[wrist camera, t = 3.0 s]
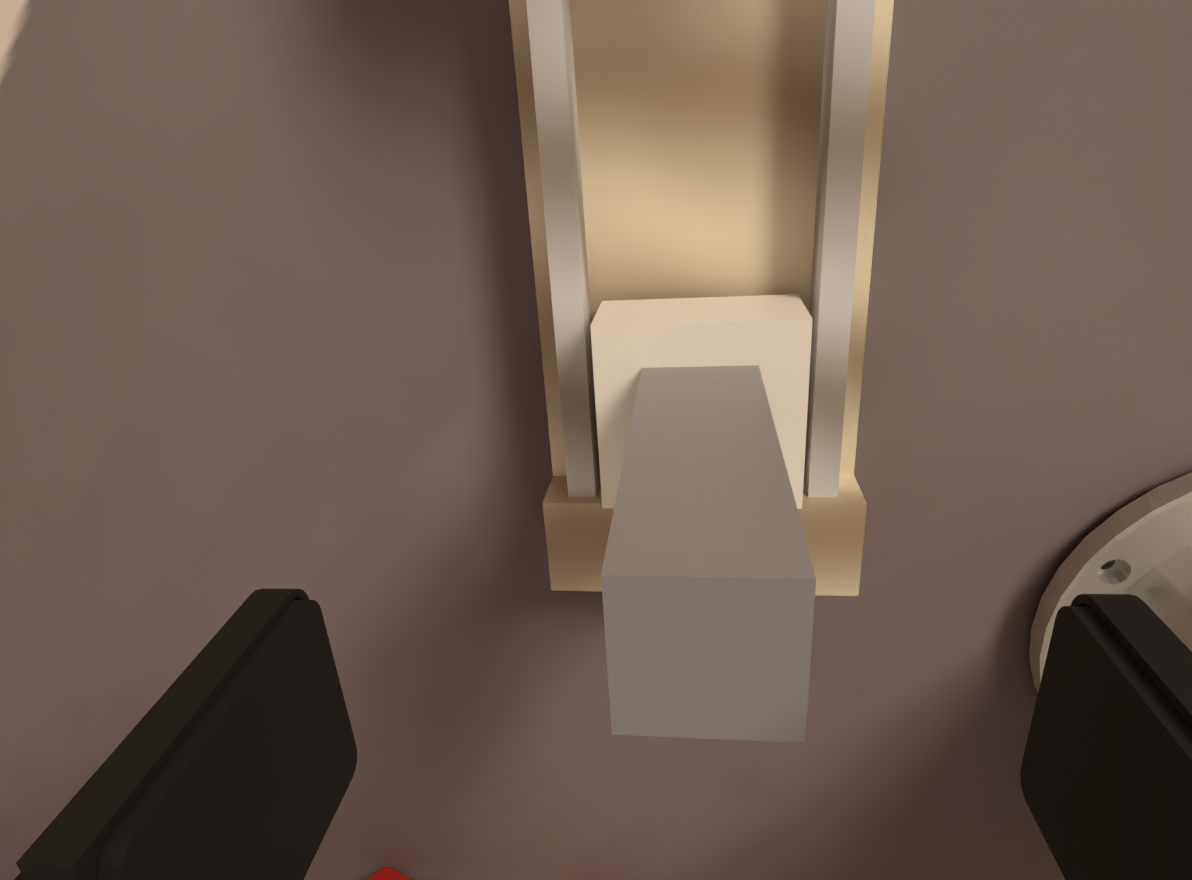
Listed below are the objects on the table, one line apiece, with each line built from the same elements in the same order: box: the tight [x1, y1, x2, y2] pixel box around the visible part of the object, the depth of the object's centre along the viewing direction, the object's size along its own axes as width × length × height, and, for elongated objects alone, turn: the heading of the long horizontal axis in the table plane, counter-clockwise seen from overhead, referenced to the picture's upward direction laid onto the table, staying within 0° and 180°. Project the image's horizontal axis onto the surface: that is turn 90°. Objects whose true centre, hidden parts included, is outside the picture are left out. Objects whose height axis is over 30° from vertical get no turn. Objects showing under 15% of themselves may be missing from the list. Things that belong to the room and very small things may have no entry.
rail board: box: [509, 0, 894, 596], centre depth 17 cm, size 26×9×6 cm, turn 3°
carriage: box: [590, 294, 816, 743], centre depth 16 cm, size 5×5×12 cm
